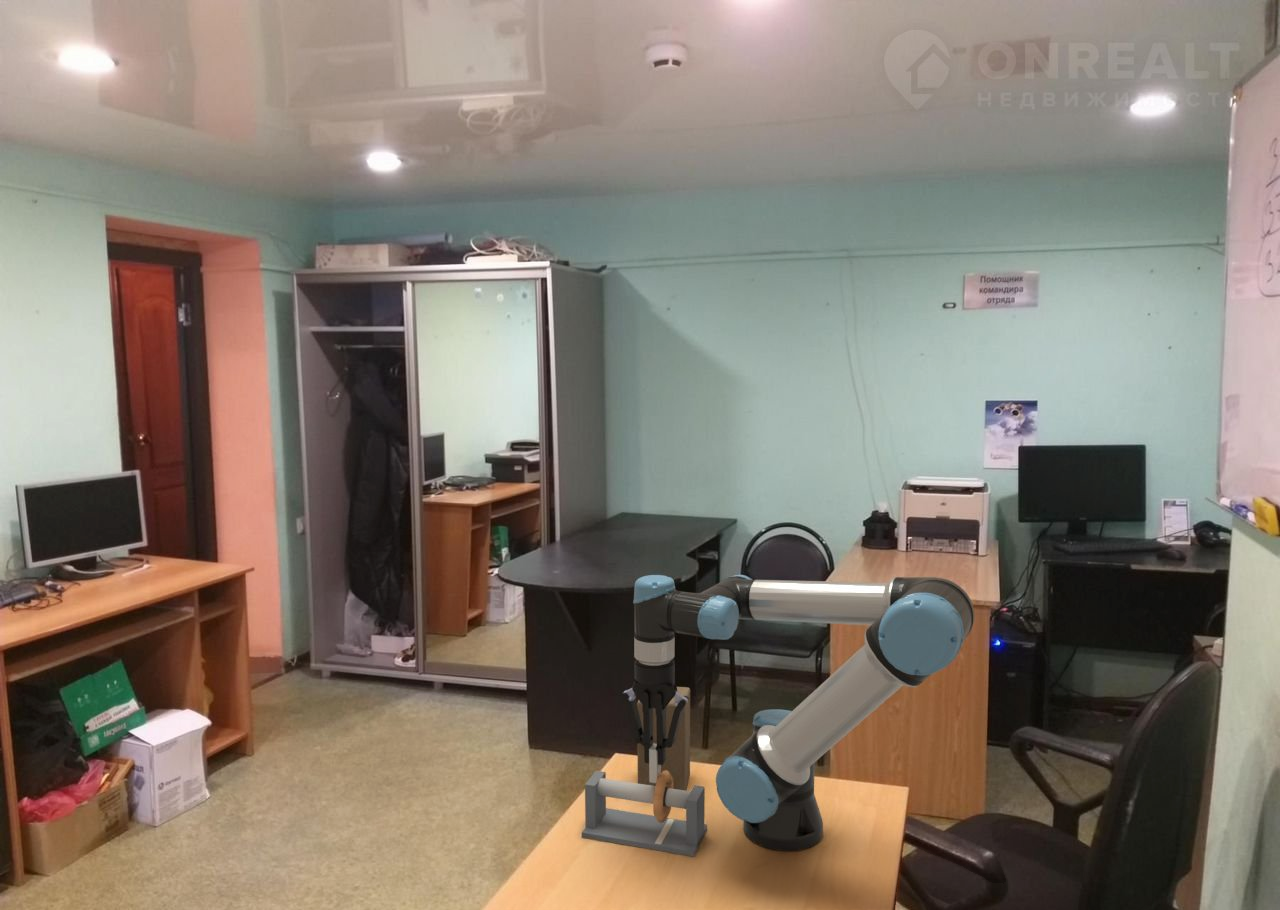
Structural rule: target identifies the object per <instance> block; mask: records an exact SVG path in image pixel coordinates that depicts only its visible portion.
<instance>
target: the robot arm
mask: <svg viewBox="0 0 1280 910" xmlns="http://www.w3.org/2000/svg"><path fill="white" fill-rule="evenodd" d="M632 603H633V614H634V615H633V617H634V621H633V622H634V637H633V639H634V642H633V643H634V644H633V646H634V653H633V655H634V656H633V658H635V660H634V667H633V668H634V682H633V684H632V687H631V688H629V689H628V688H627V689H625V690H624V691H623V692H622V693H621V695H620V698H621V700H622V701H623V703H624V705H625V706H626V711H627V714H628V715H627V716H628V719H629V724H630V728H631V733H632V736H633V740H634V743H635V744H639V743H640V744H642V745H643V746H644V761H645V763H649V782H651V783H656V782H657V779H658V778H659V776H660V775H661V765H663V764H664V762H665V760H666V748H667V747H668V748H670V747H672V745H673V744H674V742H675V740H676V736H677V732H678V728H679V724H680V720H681V716H682V712H683V708H684V706H685V705H686V704H687V702H688V701H689V698H688V696H682V695H681V694H680V693H678V692H677V687H678V686H676V681H675V679H676V678H675V677H676V676H675V675H676V674H675V673H676V672H675V671H676V667H675V665H676V664H675V663H676V662H675V659H674V658H675V643H676V642H675V639H676V638H675V633H677V634H683V635H689V636H695V637H700V638H706V639H707V640H708V639H710V640H723V641H724V640H729V639H731V638H732V637H733V636H734V634H735V631H736V630H737V628H738V625H739V620H751V621H752V620H755V621H757V620H758V621H759V620H761V621H774V622H775V621H778V622H779V621H781V622H796V623H798V622H799V623H814V624H815V623H816V624H833V625H834V624H836V625H839V624H840V625H855V626H857V625H858V626H869V627H868V628H867V629H866V630H865V632H864V644H863V646H861V647H860V648H859V649H858V650H857V651H856V652H855V653H854V654H853V655H852V656H851V657H850V658H849V659H847V660H846V661H845V662H844V663H843V664H842V665H841V666H840V667H838V669H836V670H835V671H834V672H833V673H832V674H830V676H829V677H828V678H826V680H825V681H824V682H822V683H821V684H820V685H819V686H818V687H817V688H816V689H814V691H813V692H812V693H810V694H809V695H808V696H807V697H806V698H804V699H803V701H801V703H799V704H798V705H797V706H796V707H795V708H794V709H793V710H790V709H789V710H787V709H781V708H780V709H774V708H773V709H764V710H760V711H757V713H755V714H754V716H753V720H752V721H753V722H752V723H751V724H752V729H753V730H752V731H753V732H752V735H751V736H750V737H749V738H748V739H746V740H745V741H744V742H743V743H742V744H741V745H740V746H739V747H738V748H737V749H736V750H735V751H734V752H733V753H732V754H731V755H730V756H729V757H727V758H725V759H723V761H722V762H721V765H720V767H719V768H718V770H717V772H716V776H715V786H716V791H717V795H718V797H719V799H720V800H721V803H722V805H723V806H724V807H725V808H726V810H728V811H729V813H731V814H732V816H734V817H736V818H737V819H739V820H741V821H742V823H743V825H742V828H743V832H744V834H745V835H746V836H747V838H748V839H749V840H751V842H754V843H755V844H757V845H759V846H761V847H764V848H767V849H771V850H775V851H782V852H793V851H802V850H806V849H809V848H812V847H814V846H816V845H817V844H818V843H819V842H820V841H821V840H822V838H823V835H824V833H823V832H824V831H823V830H824V823H823V818H822V814H821V811H820V808H819V805H818V802H817V799H816V795H815V773H816V772H815V766H816V765H815V763H816V762H817V761H818V760H819V759H820V758H821V757H823V755H824V754H826V753H827V752H828V751H829V750H831V749H832V748H833V747H834V746H835V745H836V744H837V743H838V742H841V740H842V739H844V737H846V736H847V735H848V734H849V733H850V732H851V731H852V730H853V729H856V727H857V726H858V725H859V724H861V722H863V721H864V720H865V719H867V717H869V716H870V715H871V714H872V713H873V712H874V711H875V710H877V709H878V708H879V707H880V706H881V705H883V703H885V702H886V701H887V700H888V699H889V698H890V697H892V696H893V695H894V694H895V693H896V692H898V690H900V689H901V688H902V687H910V688H916V687H918V686H920V685H921V684H922V683H923V682H924V681H926V680H927V679H928V678H929V677H930V676H931V675H933V674H935V673H937V672H938V673H939V671H941V670H945V668H947V667H948V666H949V665H950V664H951V663H952V662H953V661H954V660H955V659H956V658H957V656H958V654H959V653H960V651H961V648H962V646H963V644H964V642H965V640H966V639H967V638H968V636H969V635H970V633H971V632H972V629H973V627H974V623H975V609H974V605H973V603H972V600H971V598H970V596H969V595H968V593H967V592H966V591H965V589H963V588H962V587H961V586H960V585H958V584H957V583H955V582H953V581H952V580H949V579H947V578H943V577H942V578H941V577H934V576H932V577H931V576H930V577H929V576H921V577H920V576H918V577H917V576H912V577H911V576H909V577H905V576H904V577H901V576H896V577H895V576H894V577H893V578H892V579H891V580H890V581H889V582H872V581H871V582H869V581H867V582H865V581H864V582H863V581H861V582H860V581H831V580H830V581H826V580H825V581H822V580H821V581H820V580H787V579H786V580H784V579H783V580H781V579H779V580H778V579H752V578H751V577H749V576H747V575H745V574H744V575H743V574H735V575H732V576H731V575H730V576H728V577H726V578H724V579H722V580H721V581H720V582H718V583H717V584H716V583H715V585H713V586H711V587H709V588H708V589H707V588H706V589H705V590H703V591H701V592H687V591H681V590H676V586H675V581H674V579H673V578H672V577H669V576H667V575H663V574H650V575H644V576H642V577H641V576H640V577H639V578H637V579H636V581H635V583H634V591H633V601H632ZM636 698H637V699H638V700H639V701H640V702H641V704H642V711H643V728H642V724H641V720H640V715H639V711H638V707H637V699H636ZM672 698H674V699H675V701H674V705H675V706H676V708H675V710H674V713H673V717H672V721H671V725H670V729H669V733H668V737H667V738H666V710H667V705H668V704H669V702H670V701H671V700H672ZM653 708H655V709H656V726H657V744H655V743H653V741H654V739H653Z"/></svg>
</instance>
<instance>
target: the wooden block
mask: <svg viewBox="0 0 1280 910" xmlns="http://www.w3.org/2000/svg"><path fill="white" fill-rule="evenodd" d="M676 687H677V692H678V693H680V694H681V695H682V696H688V698H689V701H688V702H687V704H686V705H685V706H684V708H683V712H682V716H681V720H680V724H679V728H678V732H677V736H676V740H675V742H674V744H673V745H672V747H670V748H668V747H667V748H666V760H665V762H664V764H663V765H661V773H662V772H663V771H665V770H666V771H669V773H670V774H671V776H672V778H673V789H678V790H685V791H687V788H688V785H689V784H688V783H689V779H690V776H691V688H690V687H686V686H676ZM674 701H675V699H674V698H672V700H671V701H670V702H669V704H668V705H667V710H666V738H667V737H668V733H669V729H670V725H671V721H672V717H673V713H674V710H675V708H676V706H675V705H674ZM636 703H637V707H638V711H639V715H640V720H641V724H642V728H643V711H642V704H641V702H640V701H639V699H638V700H637V701H636ZM653 739H654V741H653V743H655V744H657V726H656V709H655V708H653ZM636 744H637V743H636ZM636 753H637V783H638V784H644V785H651V786H656V783H651V782H649V763H645V761H644V746H643V745H642V744H640V743H639V744H637V752H636Z"/></svg>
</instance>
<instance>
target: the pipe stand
mask: <svg viewBox="0 0 1280 910" xmlns="http://www.w3.org/2000/svg"><path fill="white" fill-rule="evenodd" d="M606 776H607V775H606V771H602V770H601V771H600V770H595V771H594V772H593V774H592V775H591V776H590V778H589V779H588V780H587V781H586V782H585V783H584V810H585V811H584V813H585V814H584V816H585V822H584V824H585V827H584V829H583V830H582V832H581V838H583V839H588V840H589V839H590V840H595V841H599V842H600V841H601V842H606V843H612V844H618V845H623V846H630V847H635V848H641V849H647V850H651V851H652V850H653V851H658V852H659V851H660V852H665V853H668V854H669V853H670V854H675V855H682V856H687V857H694V858H695V856H696V853H697V852H698V849H699V847H700V845H701V844H702V841H703V838H704V837H705V834H706V832H707V830H708V824H706V823H705V815H706V814H705V813H706V812H705V807H706V806H705V799H706V798H705V797H706V796H705V794H706V793H705V787H706V786H703V785H693V787H692V789H691V791H690V790H686V791H685V790H678V789H671V788H669V787H665V791H664V796H663V806H664V807H667V806H669V807H671V808H678V809H682V810H683V809H684V810H685V811H686V812H685V820H682V819H676V818H671V817H670V818H669V817H667V819H666V820H665V822H663V823H660V822H658V821H657V819H656V818H655V816H654V815H651V814H647V813H646V814H645V813H638V812H632V811H626V810H622V809H621V810H620V809H612V808H607V798H613V799H620V800H625V801H632V802H638V803H644V804H651V805H653V796H654V792H655V787H656V786H651V785H644V784H638V782H637V783H636V782H630V781H624V780H618V779H611V778H606Z"/></svg>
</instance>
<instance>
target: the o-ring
mask: <svg viewBox="0 0 1280 910" xmlns="http://www.w3.org/2000/svg"><path fill="white" fill-rule="evenodd" d="M665 787H669V788H671V789H673V778H672V776H671V774H670V773H669V771H666V770H665V771H663V772H662V773H661V775H660V776H659V778H658V779H657V782H656V787H655V792H654V796H653V804H652V806H653V808H652V809H653V812H652V813H653V816H655V818H656V819H657V821H658V822H660V823H663V822H665V820H666V819H667V818H669V816H670V813H671V810H672V807H669V806H667V807H664V806H663V796H664V791H665Z"/></svg>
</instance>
